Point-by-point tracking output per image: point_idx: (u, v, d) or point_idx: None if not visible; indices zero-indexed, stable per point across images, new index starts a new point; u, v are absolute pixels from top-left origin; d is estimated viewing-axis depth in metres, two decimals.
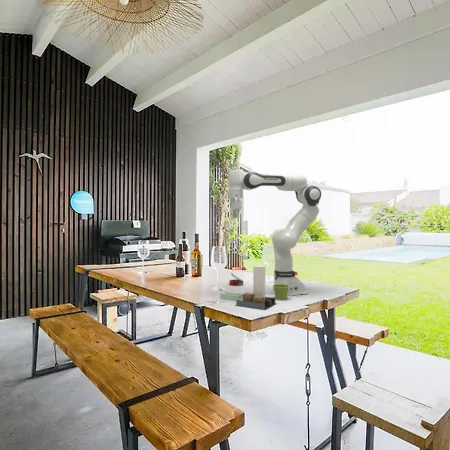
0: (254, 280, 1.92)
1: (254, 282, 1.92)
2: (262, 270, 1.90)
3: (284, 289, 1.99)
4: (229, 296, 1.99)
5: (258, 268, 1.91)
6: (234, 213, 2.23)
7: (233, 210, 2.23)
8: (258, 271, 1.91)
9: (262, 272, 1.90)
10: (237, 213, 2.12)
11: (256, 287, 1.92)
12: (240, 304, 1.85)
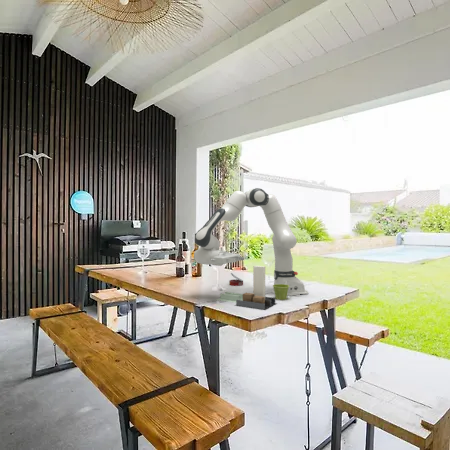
0: (254, 280, 1.92)
1: (254, 282, 1.92)
2: (262, 270, 1.90)
3: (284, 289, 1.99)
4: (229, 296, 1.99)
5: (258, 268, 1.91)
6: (239, 258, 2.04)
7: (236, 259, 2.05)
8: (258, 271, 1.91)
9: (262, 272, 1.90)
10: (230, 260, 1.94)
11: (256, 287, 1.92)
12: (240, 304, 1.85)
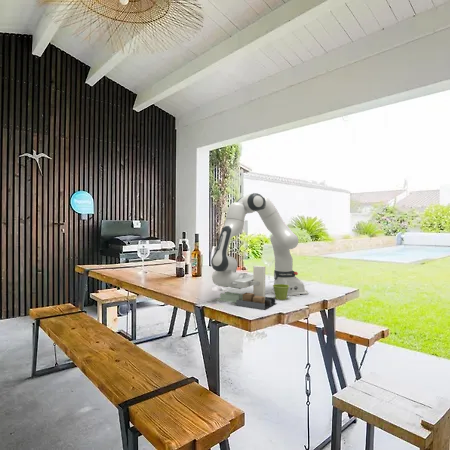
0: (254, 280, 1.92)
1: None
2: (262, 270, 1.90)
3: (284, 289, 1.99)
4: (229, 296, 1.99)
5: (258, 268, 1.91)
6: None
7: None
8: (258, 271, 1.91)
9: (262, 272, 1.90)
10: (253, 283, 1.90)
11: (256, 287, 1.92)
12: (240, 304, 1.85)
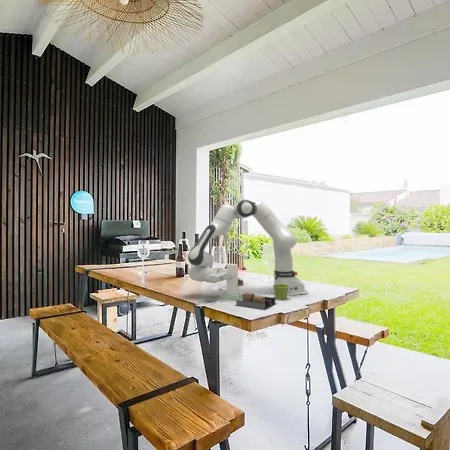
0: None
1: None
2: (234, 268, 1.98)
3: (284, 289, 1.99)
4: (229, 296, 1.99)
5: (231, 266, 2.00)
6: None
7: None
8: (230, 269, 2.00)
9: (234, 269, 1.99)
10: (225, 278, 1.98)
11: (229, 283, 2.00)
12: (240, 304, 1.85)
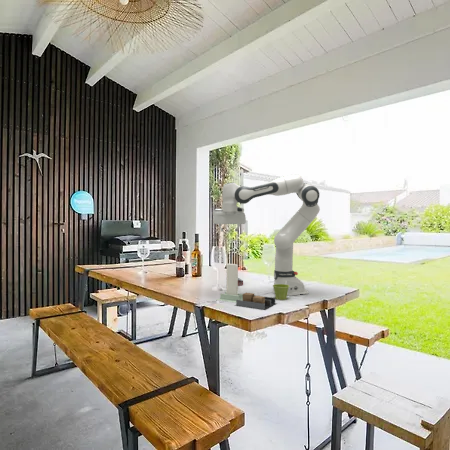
0: (227, 277, 2.01)
1: (227, 279, 2.01)
2: (234, 268, 1.98)
3: (284, 289, 1.99)
4: (229, 296, 1.99)
5: (231, 266, 2.00)
6: None
7: (237, 223, 2.19)
8: (230, 269, 2.00)
9: (234, 269, 1.99)
10: None
11: (229, 283, 2.00)
12: (240, 304, 1.85)
